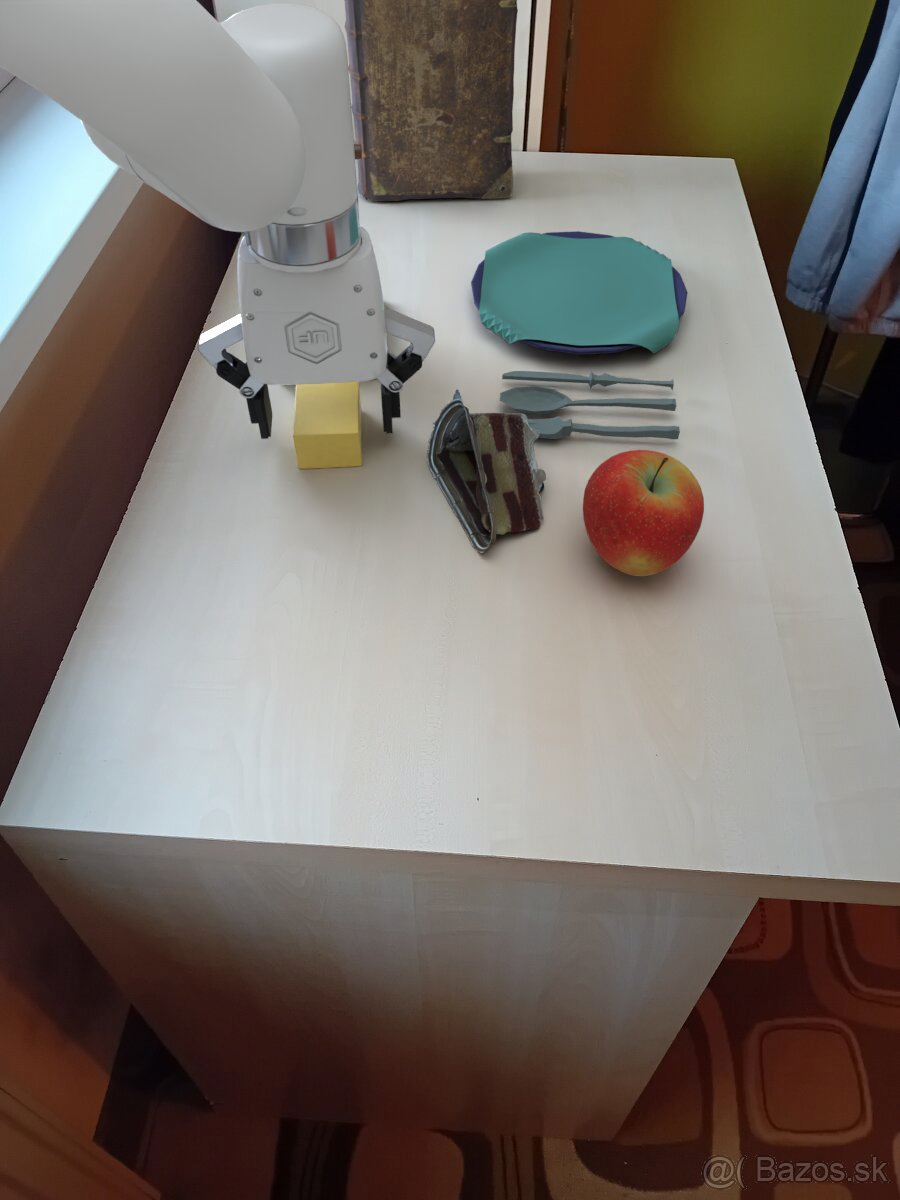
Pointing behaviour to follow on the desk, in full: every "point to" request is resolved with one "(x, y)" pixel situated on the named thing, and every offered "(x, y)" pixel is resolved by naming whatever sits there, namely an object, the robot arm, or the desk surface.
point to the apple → (642, 511)
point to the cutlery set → (580, 316)
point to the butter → (328, 425)
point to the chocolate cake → (487, 471)
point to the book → (432, 97)
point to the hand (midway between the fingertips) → (327, 425)
